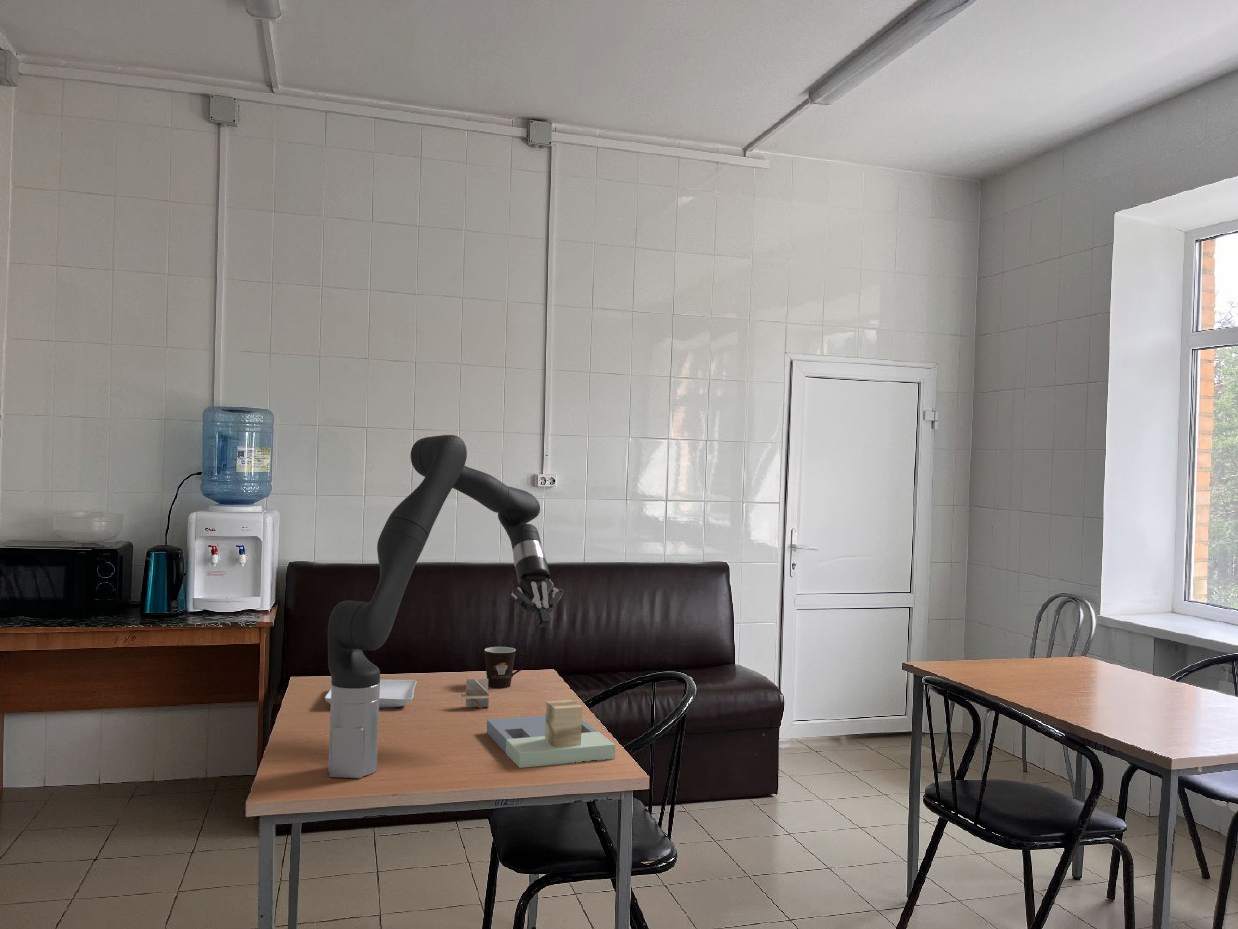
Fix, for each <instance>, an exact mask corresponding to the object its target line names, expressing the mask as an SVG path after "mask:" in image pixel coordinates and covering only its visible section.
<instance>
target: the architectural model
mask: <svg viewBox="0 0 1238 929" xmlns="http://www.w3.org/2000/svg"><path fill="white" fill-rule="evenodd" d="M465 684H466V685H465V686H466V687H465V693H461V694H460V697H461V698H460V699H465V708H479V709H481V710H482V708H487V709H489V708H490V691H489V689H490V688H489V687H488V679H487V678H467V679H466V682H465Z"/></svg>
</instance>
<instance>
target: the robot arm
mask: <svg viewBox="0 0 1238 929" xmlns="http://www.w3.org/2000/svg"><path fill="white" fill-rule="evenodd" d="M467 454H468V450H467V446H466V443H465V441H464V439H463V438H461V437H460V436H457V435H455V434H442V435H434V436H426V437H422V438H420V439H418V440H416V442H414V443H413V445H412V447H411V450H410V462H411V465H412V467H413V469H414V470H415V471H416V473H418V474H419V475H421V476H422V477H424V478H423V480H422V481H421V482H420V484H419V485H418V486H417V487H416V488H415V489H414V490H413V491H412V492H411V493H410V494H409V495H408V496H406V497H405V498H404V499H403V500H402V501H401V502H400V503H399V504H398V505H397V506H396V507H395V508H394V509H393V511H392V512H390V514H389V516H388V518H387V520H386V522H385V523H384V525H383V528H382V531H381V532H380V535H379V537H378V540H377V546H376V547H377V548H376V550H377V560H378V566H379V580H378V584H377V587H376V588H375V589H376V590H375V591H374V594H373V595H372V598H371V600H370V601H369V602H368V601H359V600H357V601H356V600H343V601H340V602H338V603H337V604H336V605H335V606H334V607H333V609H332V611H331V612H330V616H329V619H328V623H327V625H328V626H327V662H328V663H327V666H328V670H329V673H330V677H331V687H330V689H331V704H330V710H329V711H330V713H329V715H330V716H329V739H328V741H329V742H328V767H327V768H328V769H327V770H328V772H327V773H328V774H329V777H330V778H346V779H347V778H349V779H362V778H363V777H365V776H369V775H371V774H372V775H373V774H374V773H375V772H377V769H378V748H379V747H378V740H379V738H378V737H379V719H380V717H379V715H380V714H379V712H380V708H379V693H380V680H381V670H380V668H379V667H378V666H377V665H375V664H374V663H372V662H371V661H370V660H369V659H368V658H367V657H366V656H365V654H364V652H363V651H369V652H371V651H372V652H373V651H377V650H379V649H380V648H381V647H382V646H383V645H384V644H385V643H386V641H387V640H388V638H389V636H390V633H391V631H392V629H393V627H394V624H395V623H394V622H395V621H396V618H397V617H396V616H397V615H398V612H399V608H400V605H401V602H402V599H403V596H404V594H405V591H406V588H407V586H408V583H409V581H410V579H411V576H412V574H413V572H414V569H415V567H416V565H417V562H418V560H419V558H420V556H421V555H422V552H423V550H424V548H425V545H426V543H427V542H428V539H429V536H430V533H431V531H432V529H433V526H434V524H435V522H436V520H437V518H438V516H439V514H440V512H441V510H442V508H443V506H444V504H445V502H446V500H447V498H448V496H449V494H450V493H451V491H452V490H453V489H454V490H456V491H458V492H460V493H462V494H463V495H466V496H468V498H471V499H473V500H475V501H476V502H477V503H479V504H480V505H482V506H484V507H486V508H487V509H488V510H490V511H492V512H494V513H497V518H498V521H499V523H500V524H501V526H502V527H503V528H504V530H505V533H506V534H507V536H508V538H509V541H510V544H511V548H512V554H513V566H514V567H515V573H516V579H517V582H518V585H517V587H514V588H513V589H512V592H511V594H510V598H511V599H512V600H513V601H514V602H515V603H517V604H518V605H519V606H520V607H521V608H522V609H523V610H525V612H526V613H530V612H531V613H533V614H534V616H535V620H536V624H537V626H539V627H540V628H548V626H549V624H550V622H551V615H550V613H552V612H553V611H554V609H555V608H556V606H557V605H558V603H559V602H560V600H561V598H562V596H563V594H564V592H565V590H564V588H559V589H558V588H557V587H555V585H554V582H553V581H552V580H551V575H550V570H549V566H548V562H547V558H546V554H545V551H544V548H543V545H542V542H541V538H540V533H539V530H538V528H537V527H536V525H534V524H532V523H529V522H531V521H533V520H534V519H537V517H538V516H539V514H540V513H541V506H540V502H539V501H538V499H537V498H536V496H534V494H532V493H530V492H528V491H526V490H523V489H520V488H515V487H512V486H508V485H507V484H505V483H504V482H503V481H500V480H499V479H497V478H496V477H495V476H492V474H489V473H487V472H484V471H480V470H477V469H475V468H472V467H469V466H466V462H467V457H468V456H467ZM551 594H552V600H551V602H550V603H549V596H550V595H551Z"/></svg>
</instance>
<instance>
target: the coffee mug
mask: <svg viewBox="0 0 1238 929" xmlns="http://www.w3.org/2000/svg"><path fill="white" fill-rule="evenodd" d="M516 651H517V650H516V648H514V647H509V646H508V647H507V646H491V647H486V648H485V649H484V660H485V672H486V674H485V675H486V679H488V688H489V689H490V688H491V689H499V690H500V689H507V688H511V684H512V679H513V676H514V675H516V674H518V673H519V672H521V671H523V669H524V668H525V667H527V665H528V663H529V657H528V656H527V654H525V653H518V654H516ZM522 656H523V657H524V658H525V660H526V661H525V663H524V665H523V666H521V667H520V668H519V669H517V670H515V671H514V665H515V662H516V660H517V659H518V658H519V657H522ZM513 671H514V672H513Z"/></svg>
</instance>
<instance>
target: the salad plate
mask: <svg viewBox="0 0 1238 929" xmlns="http://www.w3.org/2000/svg"><path fill="white" fill-rule="evenodd" d="M417 683H418V682H417V680H415V679H380V693H379V709H380V708H383V709H384V708H399V707H400V708H401V707H403V706H404V707H405V706H406V705H409V704H410V703H411V702H412V701H413V699H414V694H415V688H416V685H417ZM324 700H325V701H326V702H327V703H329V704H330V705H331V688H330V690H329V691H328V692H327V694H326V695H325V696H324Z"/></svg>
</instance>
